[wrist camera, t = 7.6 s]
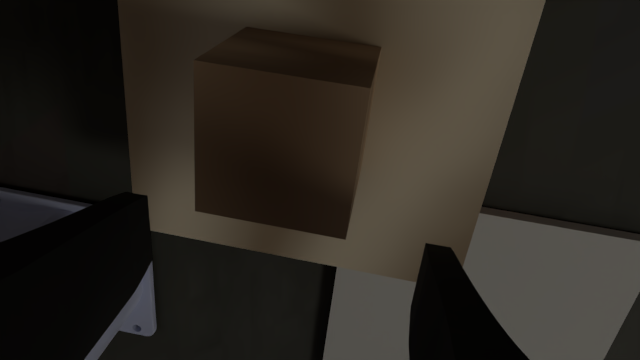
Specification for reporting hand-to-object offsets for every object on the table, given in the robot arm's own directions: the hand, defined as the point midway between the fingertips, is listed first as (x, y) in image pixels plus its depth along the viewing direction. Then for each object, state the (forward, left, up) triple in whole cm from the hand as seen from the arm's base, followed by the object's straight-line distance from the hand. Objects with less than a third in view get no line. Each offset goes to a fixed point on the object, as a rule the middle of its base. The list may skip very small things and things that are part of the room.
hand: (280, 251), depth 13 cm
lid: (0, +3, -5) cm, 6 cm away
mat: (+8, -9, -9) cm, 15 cm away
